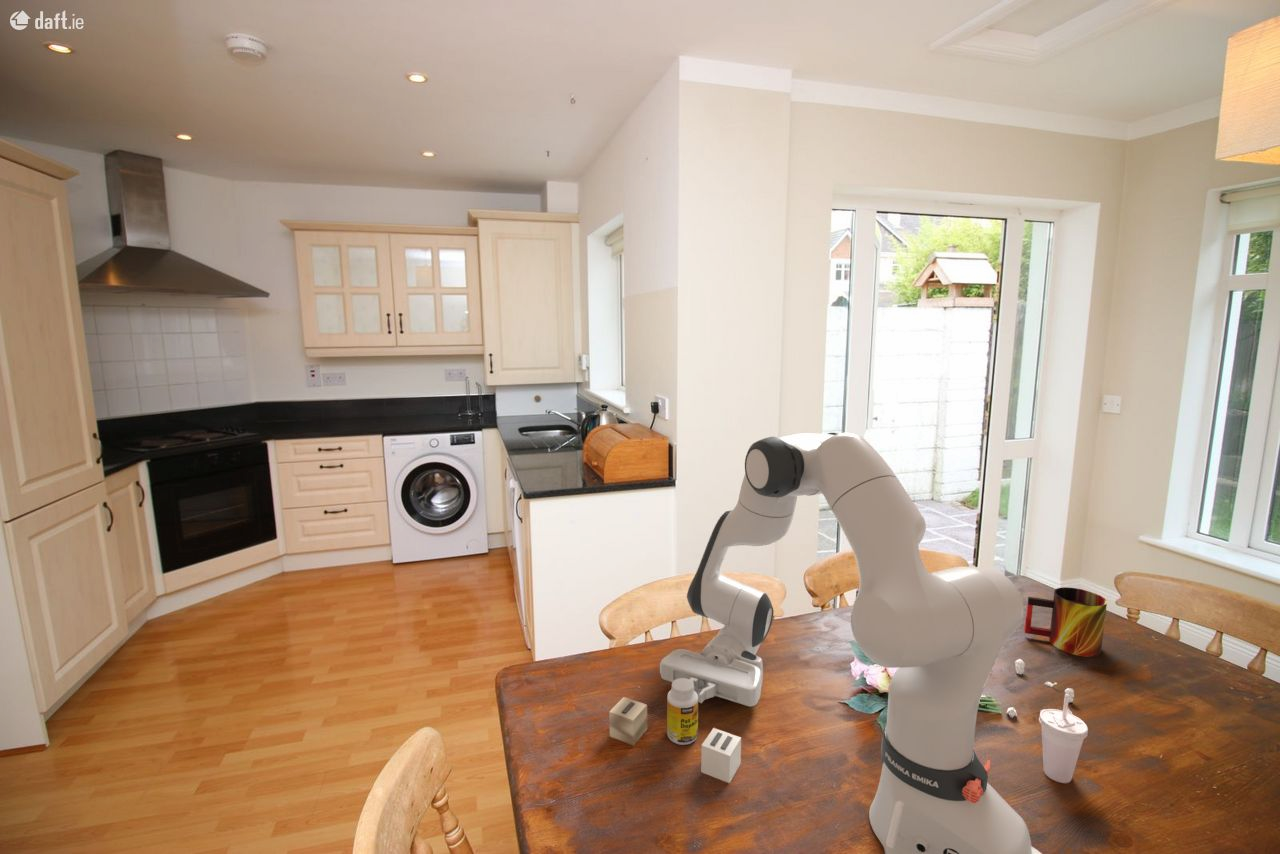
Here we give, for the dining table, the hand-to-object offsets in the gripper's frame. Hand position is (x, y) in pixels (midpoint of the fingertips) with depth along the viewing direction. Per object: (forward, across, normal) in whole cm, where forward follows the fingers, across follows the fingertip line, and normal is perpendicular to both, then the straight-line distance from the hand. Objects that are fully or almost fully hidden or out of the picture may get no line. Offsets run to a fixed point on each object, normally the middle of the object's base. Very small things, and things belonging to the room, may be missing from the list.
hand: (693, 697), depth 109 cm
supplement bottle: (+4, 0, +5) cm, 7 cm away
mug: (-66, +63, +5) cm, 92 cm away
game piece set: (-39, +53, +6) cm, 66 cm away
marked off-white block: (+8, +9, +5) cm, 13 cm away
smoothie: (-17, +57, +5) cm, 60 cm away
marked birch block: (+8, -9, +5) cm, 13 cm away
